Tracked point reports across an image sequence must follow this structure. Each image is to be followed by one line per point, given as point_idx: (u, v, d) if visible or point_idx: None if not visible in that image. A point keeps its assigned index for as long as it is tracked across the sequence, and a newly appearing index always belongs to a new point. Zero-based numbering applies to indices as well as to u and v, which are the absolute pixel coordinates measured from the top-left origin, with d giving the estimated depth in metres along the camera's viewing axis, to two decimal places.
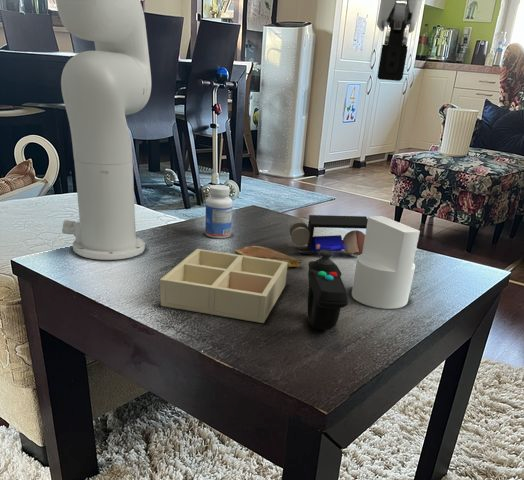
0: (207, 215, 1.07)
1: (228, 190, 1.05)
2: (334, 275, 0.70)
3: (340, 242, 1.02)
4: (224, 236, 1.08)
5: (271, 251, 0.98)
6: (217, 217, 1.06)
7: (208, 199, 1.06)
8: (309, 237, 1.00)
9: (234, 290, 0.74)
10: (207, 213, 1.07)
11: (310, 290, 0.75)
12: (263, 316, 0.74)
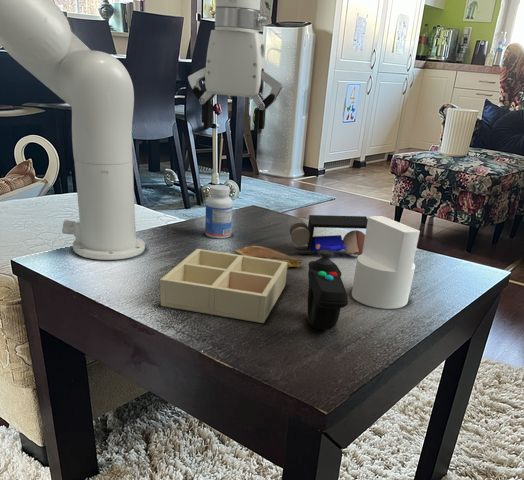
0: (207, 215, 1.07)
1: (228, 190, 1.05)
2: (334, 275, 0.70)
3: (340, 242, 1.02)
4: (224, 236, 1.08)
5: (271, 251, 0.98)
6: (217, 217, 1.06)
7: (208, 199, 1.06)
8: (309, 237, 1.00)
9: (234, 290, 0.74)
10: (207, 213, 1.07)
11: (310, 290, 0.75)
12: (263, 316, 0.74)
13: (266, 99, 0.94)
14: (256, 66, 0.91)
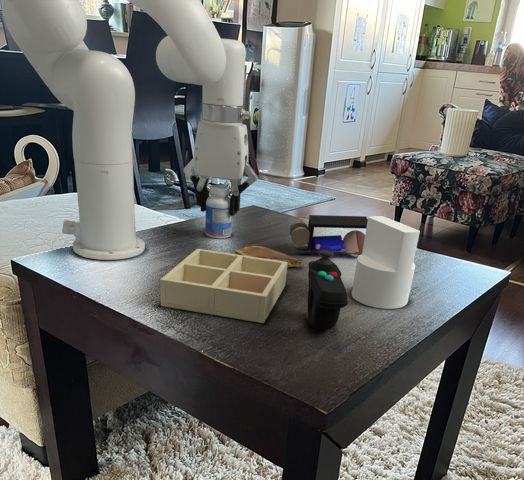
0: (207, 215, 1.07)
1: (228, 190, 1.05)
2: (334, 275, 0.70)
3: (340, 242, 1.02)
4: (224, 236, 1.08)
5: (271, 251, 0.98)
6: (217, 217, 1.06)
7: (208, 199, 1.06)
8: (309, 237, 1.00)
9: (234, 290, 0.74)
10: (207, 213, 1.07)
11: (310, 290, 0.75)
12: (263, 316, 0.74)
13: (242, 188, 1.04)
14: (240, 154, 1.00)
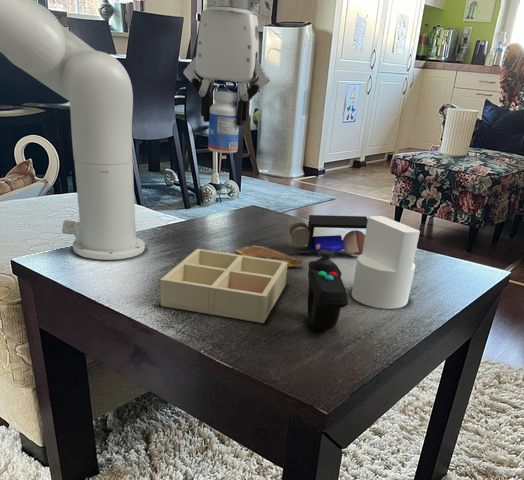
0: (211, 125, 0.94)
1: (235, 95, 0.92)
2: (334, 275, 0.70)
3: (340, 242, 1.02)
4: (230, 150, 0.95)
5: (271, 251, 0.98)
6: (222, 126, 0.93)
7: (212, 106, 0.93)
8: (309, 237, 1.00)
9: (234, 290, 0.74)
10: (211, 123, 0.94)
11: (310, 290, 0.75)
12: (263, 316, 0.74)
13: (252, 92, 0.91)
14: (250, 49, 0.87)
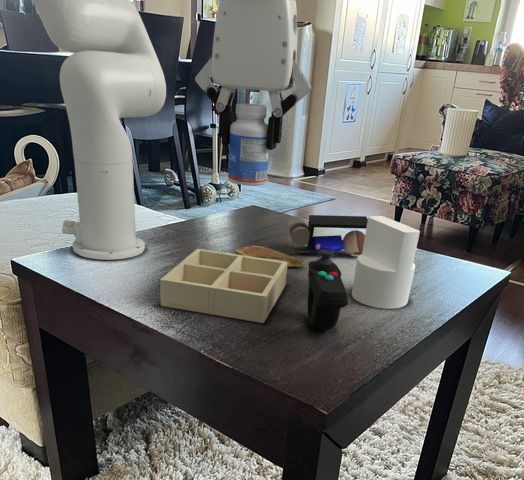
0: (232, 149, 0.70)
1: (265, 109, 0.68)
2: (334, 275, 0.70)
3: (340, 242, 1.02)
4: (257, 182, 0.71)
5: (271, 251, 0.98)
6: (247, 151, 0.69)
7: (234, 124, 0.69)
8: (309, 237, 1.00)
9: (234, 290, 0.74)
10: (232, 146, 0.70)
11: (310, 290, 0.75)
12: (263, 316, 0.74)
13: (287, 105, 0.67)
14: (286, 46, 0.63)
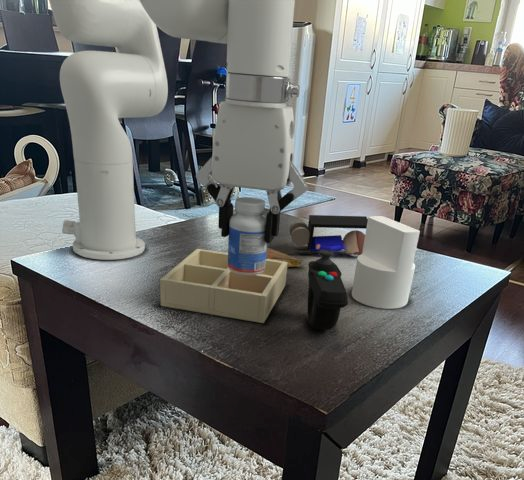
0: (231, 242, 0.72)
1: (263, 205, 0.71)
2: (334, 275, 0.70)
3: (340, 242, 1.02)
4: (256, 272, 0.74)
5: (271, 251, 0.98)
6: (246, 245, 0.71)
7: (233, 219, 0.71)
8: (309, 237, 1.00)
9: (234, 290, 0.74)
10: (231, 239, 0.72)
11: (310, 290, 0.75)
12: (263, 316, 0.74)
13: (284, 203, 0.70)
14: (283, 152, 0.66)
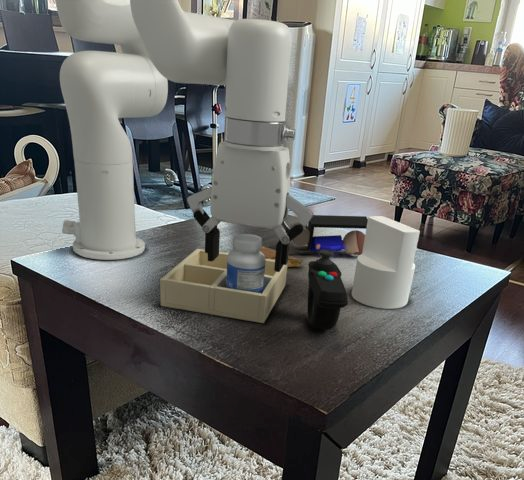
0: (229, 277, 0.75)
1: (260, 243, 0.73)
2: (334, 275, 0.70)
3: (340, 242, 1.02)
4: None
5: (271, 251, 0.98)
6: (243, 281, 0.74)
7: (231, 255, 0.74)
8: (309, 237, 1.00)
9: (234, 290, 0.74)
10: (229, 275, 0.75)
11: (310, 290, 0.75)
12: (263, 316, 0.74)
13: (292, 231, 0.71)
14: (280, 192, 0.68)
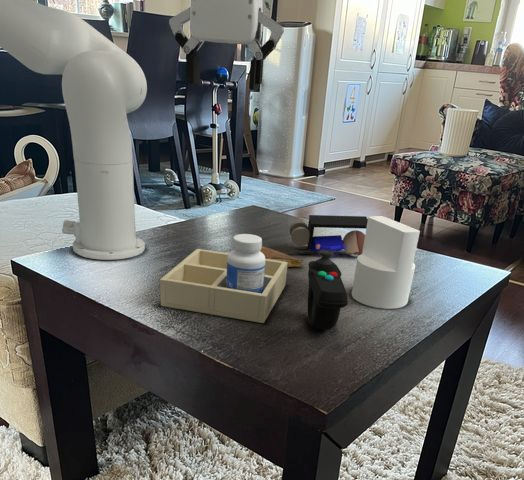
0: (229, 277, 0.75)
1: (260, 243, 0.73)
2: (334, 275, 0.70)
3: (340, 242, 1.02)
4: None
5: (271, 251, 0.98)
6: (243, 281, 0.74)
7: (231, 255, 0.74)
8: (309, 237, 1.00)
9: (234, 290, 0.74)
10: (229, 275, 0.75)
11: (310, 290, 0.75)
12: (263, 316, 0.74)
13: (264, 46, 0.78)
14: (252, 3, 0.75)
